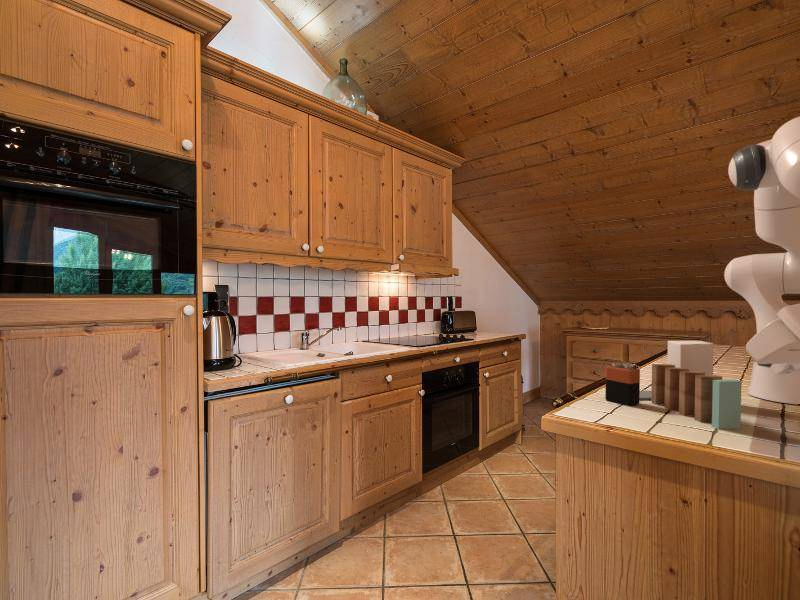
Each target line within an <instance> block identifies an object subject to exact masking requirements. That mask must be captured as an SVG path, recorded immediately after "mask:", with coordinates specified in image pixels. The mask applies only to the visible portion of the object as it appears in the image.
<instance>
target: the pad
mask: <svg viewBox="0 0 800 600" xmlns="http://www.w3.org/2000/svg"><path fill="white" fill-rule="evenodd" d="M651 397H652V390H640V395H639V401H650V400H649V399H651Z"/></svg>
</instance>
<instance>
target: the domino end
mask: <svg viewBox="0 0 800 600" xmlns="http://www.w3.org/2000/svg"><path fill="white" fill-rule="evenodd" d="M741 416H742V380H738V379H722V380H713V397H712V422H711V428H714V429H717V430H740V429H741V428H742V427H741V423H742V422H741V421H742V417H741Z"/></svg>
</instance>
